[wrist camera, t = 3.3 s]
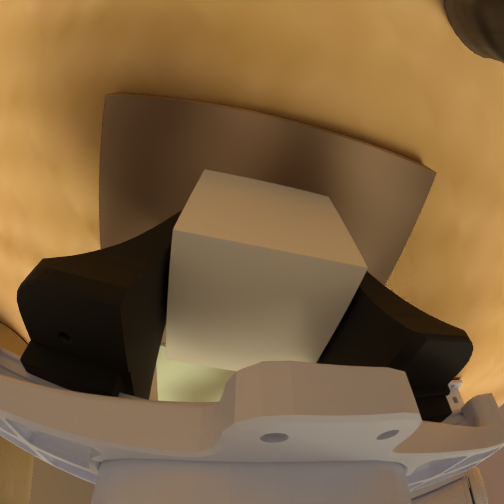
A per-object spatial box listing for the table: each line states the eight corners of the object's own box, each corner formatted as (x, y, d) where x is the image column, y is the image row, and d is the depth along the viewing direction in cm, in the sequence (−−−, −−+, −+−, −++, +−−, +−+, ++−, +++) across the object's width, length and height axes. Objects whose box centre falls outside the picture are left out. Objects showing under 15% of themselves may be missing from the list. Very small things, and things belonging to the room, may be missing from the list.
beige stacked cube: (328, 196, 12) (367, 267, 7) (293, 292, 14) (306, 378, 10) (204, 169, 11) (172, 229, 7) (189, 273, 14) (165, 358, 10)
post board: (423, 164, 12) (485, 207, 8) (289, 415, 23) (292, 463, 19) (117, 92, 10) (52, 105, 6) (127, 389, 22) (113, 437, 18)
